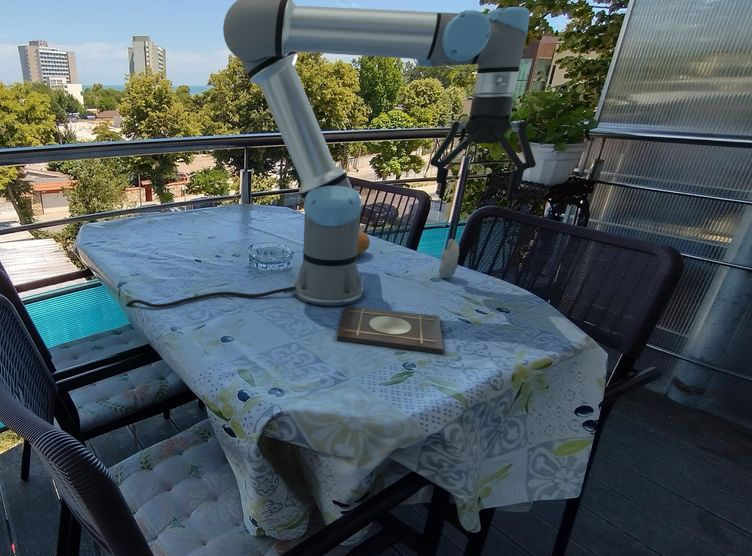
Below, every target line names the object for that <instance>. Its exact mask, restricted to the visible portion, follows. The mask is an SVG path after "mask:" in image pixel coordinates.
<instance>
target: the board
mask: <svg viewBox="0 0 752 556" xmlns="http://www.w3.org/2000/svg"><path fill="white" fill-rule="evenodd" d="M336 340H337V341H341V342H347V343H355V344H363V345H371V346H379V347H386V348H394V349H401V350H409V351H415V352H416V351H417V352H422V353H424V352H425V353H431V354H440V355H443V354H444V343H443V342H444V341H443V335H442V328H441V321H440V316H439V315H434V314H433V315H432V314H425V313H416V312H407V311H397V310H387V309H377V308H369V307H361V306H360V307H359V306H350V305H345V307H344V311H343V315H342V317H341V322H340V325H339V328H338V332H337V335H336Z"/></svg>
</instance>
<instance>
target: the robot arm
mask: <svg viewBox="0 0 752 556" xmlns="http://www.w3.org/2000/svg"><path fill="white" fill-rule="evenodd" d="M530 15H531V13H530V10H529V9H528V8H527V7H524V6H507V7H499V8H495V9H492V10H490V11H488V12H487V14H485V13H483V12H482V11H480V10H474V9H470V10H469V9H468V10H464V11H459V12H437V11H421V10H398V9H397V10H396V9H376V8H358V7H357V8H354V7H353V8H352V7H336V6H335V7H333V6H332V7H331V6H314V5H313V6H311V5H310V6H308V5H296V3H295V2H294V1H293V0H236V1H235V2H233V4H231V5H230V7H229V9H228V10H227V11H226V14H225V17H224V19H223V26H222V31H223V32H222V33H223V38H224V39H223V40H224V42H225V44H226V47H227V48H228V49H229V51H230V52H231V54H233V56H234V57H236V58H237V59H240V61H241V64H242V66H243V68H244V70H245V73H246V75H247V77H248V80H249V82H250V83H252V84H256V85H257V86H259V87H260V90H261V92H262V95H263V96H264V99H265V101H266V103H267V104H266V105H267V106H268V108H269V110H270V113H271V115H272V117H273V120H274V122H275V124H276V126H277V128H278V131H279V134H280V136H281V138H282V141H283V143H284V145H285V147H286V149H287V151H288V154H289V156H290V158H291V161H292V163H293V165H294V168H295V170H296V171H297V175H298V177H299V179H300V182H301V183H300V184H301V185H300V187H299V189H298V192H299V195H300V198H301V200H302V203H303V211H304V225H303V252H302V253H303V255H302V262H301V265H300V268H299V270H298V272H297V276H296V279H295V281H294V286H288V287H283V288H278V289H273V290H269V291H265V292H261V293H244V292H236V291H217V292H209V293H205V294H199V295H193V296H190V297H186V298H182V299H178V300H175V301H171V302H165V303H152V302H148V301H145V300H142V299H132V300H130V301H128V302H127V303H126V304H125V307H130V306H132V305H133V304H140V305H143V306H146V307H150V308H153V309H154V308H155V309H158V308H159V309H160V308H161V309H162V308H168V307H173V306H176V305H180V304H183V303H186V302H187V303H188V302H190V301H191V302H193V301H197V300H200V299H205V298H210V297H217V296H234V297H235V296H237V297H243V298H263V297H267V296H271V295H275V294H279V293H285V292H290V291H291V292H292V291H293V293H294V296H295V298H297V299H299V300H300V301H302V302H305V303H307V304H310V305H315V306H321V307H322V306H323V307H343V306H350V305H352V304H354V303H357V302H358V301H360V300H361V299H362V298H363V283H364V281H365V275H363V276H362V279H361V275H360V272H359V269H358V264H357V259H358V258H357V247H358V234H359V231H360V221H361V213H362V208H363V204H362V197H361V194H360V193H359V192H358V190H356V189H354V188H353V187H352V185H351V182H350V179H349V177H348V175H347V172H346V170H345V169H343V168H340V167H338V166H337V165H336V164H335V161H334V159H333V156H332V154H331V152H330V148H329V146H328V144H327V141H326V139H325V137H324V134H323V132H322V129H321V127H320V125H319V122H318V120H317V118H316V115H315V113H314V110H313V107H312V105H311V104H310V103H311V102H310V101H309V98H308V96H307V94H306V91H305V89H304V85H303V83H302V81H301V79H300V76H299V74H298V71H297V69H296V62H297V58H298V56H299V55H298V53H310V54H311V53H313V54H314V53H315V54H327V55H328V54H329V55H345V56H346V55H347V56H361V57H377V58H378V57H380V58H395V59H396V58H397V59H409V60H411V59H412V60H416V63H417V65H418V66H419V67H431V68H436V67H447V66H448V67H451V66H453V67H454V66H467V65H469V66H472V65H473V66H474V65H477V71H476V75H475V81H474V87H473V92H472V94H473V95H475V97H473V98H472V100H471V105H470V111H469V116H468V119H467V121H466V122H461V121H457V120H454V121H452V123H451V126H450V130H449V131H448V134H447V135H446V137H444V139H443V140H442V142H441V144H440V146H439V147H438V148H437V150H436V152H434V154H433V156H432V157H431V159H430V161H429V164H430V165H431V166H432V167H435V168H436V169H437V170H436V177H435V181H436V184H439V185H440V186H439V193H438V199H439V200H444V195H445V188H446V182H447V176H448V167H446V166H448V165H449V164H450V163H451V162H452V161H453V160H454V159H455V158H456V157H457V156H459V154H461V153H462V152H463V151H464V150H465V149H466V148H467V147H468V146H469V145H471V144H472V143H474V144H477V145H478V144H479V145H480V144H488V145H492V144H495V143H498V144H499V146H500V147H501V149H502V150H503V151H504V153H505V154H506V156H508V158H509V160H510V161H511V163H512V165H514V166H515V169H514V168H512V169H511V171H510V177H509V179H508V184H507V189H506V195H505V201H506V202H507V203H512V201H513V197H514V192H515V189H516V187H517V186H518V187H520V186H521V184H522V181H523V176H524V173H525V171H526V170H528V169H531V168H535V167H537V166H536V165H537V163H536V160H535V156H534V153H533V151H532V150H533V149H532V148H531V144H530V142H529V139H528V136H527V135H528V134H527V133H526V132H527V121H525V120H523V119H522V120H521V119H520V120H518V121H511V114H512V108H513V103H514V98H513V96H512V95H513V94H515V93H516V89H517V82H518V78H519V73H520V67H521V62H522V58H523V55H524V54H523V53H524V49H525V45H526V40H527V37H528V30H529V23H530V17H531V16H530ZM463 129H465V131H466V132H467V134H468V135H466V137H464V139H462V141H461V142H459V143H458V144H457V145H456V146H455V147H454V148H453V149H452V150H451V151H450V152H449V153H447V154H446V156H444V158H443V159H442V160H440V159H441V157H442V156H443V155H444V153H445V151H446V150H447V148H448V147H449V146H450V144H451V143H452V141H453V140H454V138H455V137H456V135H457V133H461V131H462V130H463ZM510 129H512V132H514V133H516V136H517V140H518V143H519V146H520V149H521V152H522V155H523V157H524V160H525V162H523V161H522V160H521V158H520V157H519V155H518V154H517V153H516V151H515V150H514V149H513V147H512V146H511V144H510V143H509V141H508V140H507V138H506V136H505V134H506V133H507V132H509V130H510ZM131 429H132V435H133V443H134V450H135V451H138V450H139V445H138V437H137V429H136V425H133V424H131Z"/></svg>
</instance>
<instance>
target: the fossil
mask: <svg viewBox="0 0 752 556" xmlns="http://www.w3.org/2000/svg"><path fill="white" fill-rule="evenodd" d="M459 256H460V245H459V244H458V242H457V241H456V240H455V239H453V238H450V239H448V241H447V245H446V248H445V249H444V251H442V253H441V256H440V263H439V267H438V274H439V276H440V278H441V279H448V278H451V277H452V276H454V275H455V273H456V271H457V268H458V266H459V265H458V262H459Z"/></svg>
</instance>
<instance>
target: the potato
mask: <svg viewBox="0 0 752 556" xmlns="http://www.w3.org/2000/svg"><path fill="white" fill-rule="evenodd" d="M370 245H371V239H370V237H369V236H368V235H367V234H366V232H363V231H361V230H359V234H358V247H357V256H360V255H362V254H363V253H365V252H366V251H367V250H368V249H369V248H370Z"/></svg>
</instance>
